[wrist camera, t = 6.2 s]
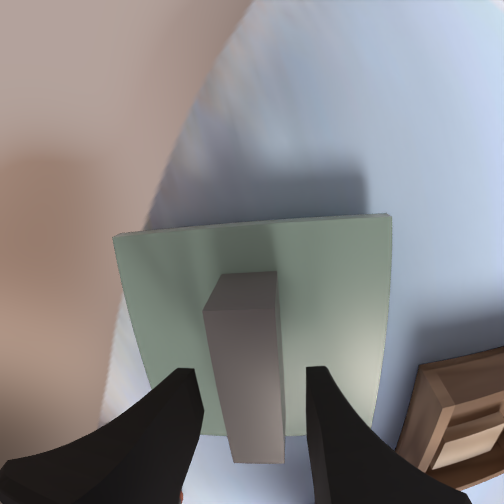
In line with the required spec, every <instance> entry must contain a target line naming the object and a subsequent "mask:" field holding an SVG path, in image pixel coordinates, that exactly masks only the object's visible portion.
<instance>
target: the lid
mask: <svg viewBox="0 0 504 504" xmlns="http://www.w3.org/2000/svg"><path fill="white" fill-rule="evenodd" d="M112 238H113V244H114V249H115V254H116V259H117V264H118V268H119V273H120V278H121V282H122V287H123V291H124V295H125V299H126V303H127V307H128V311H129V315H130V319H131V323H132V326H133V330H134V334H135V337H136V341H137V344H138V348H139V351H140V354H141V358H142V361H143V364H144V367H145V370H146V373H147V377H148V380H149V383H150V386H151V388H152V389H154V388H155V387H156V386H157V385H158V384H159V383H160V382H162V381H163V380H164V379H165V378H166V377H167V376H168V375H169V374H171V373H172V372H173V371H174V370H175V369H176V368H194V369H195V373H196V378H197V382H198V386H199V390H200V394H201V398H202V403H203V406H204V410H205V411H204V417H203V423H202V428H201V433H200V435H216V436H227V437H228V441H229V445H230V449H231V454H232V458H233V462H234V463H255V464H276V463H285V436H302V435H307V434H306V367H311V366H326V367H327V368H328V369H329V372H330V374H331V375H332V377H333V379H334V381H335V383H336V384H337V386H338V387H339V389H340V390H341V392H342V393H343V395H344V396H345V398H346V399H347V400H348V402H349V403H350V405H351V406H352V407H353V409H354V410H355V411H356V412H357V414H358V415H359V416H360V417H361V418H362V420H363V421H364V422H365V423H366V424H367V425H368V426H369V427H370V429H371V425H372V420H373V415H374V410H375V405H376V399H377V394H378V388H379V382H380V375H381V369H382V362H383V355H384V347H385V338H386V329H387V319H388V308H389V296H390V280H391V258H392V216H390V215H388V214H387V213H382V214H361V215H342V216H325V217H308V218H293V219H278V220H264V221H251V222H238V223H225V224H213V225H201V226H190V227H179V228H168V229H158V230H148V231H138V232H128V233H120V234H118V235H116V236H114V237H112Z"/></svg>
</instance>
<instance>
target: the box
mask: <svg viewBox="0 0 504 504" xmlns="http://www.w3.org/2000/svg"><path fill="white" fill-rule="evenodd" d="M395 452H396V453H397V454H399V455H400V456H401V457H403V458H404V459H405V460H407V461H408V462H410V463H411V464H412V465H414V466H415V467H417V468H418V469H419V470H421V471H422V472H424V473H426V474H427V475H429V476H431V477H432V478H434V479H436V480H438V481H439V482H441V483H444V484H446V485H448V486H450V487H452V488H454V489H457V490H459V491H461V490H464V489H467V488H469V487H472V486H475V485H477V484H480V483H482V482H485V481H487V480H489V479H492V478H494V477H496V476H499V475H501V474H503V473H504V346H503V347H499V348H495V349H491V350H488V351H484V352H479V353H475V354H471V355H467V356H462V357H457V358H453V359H448V360H443V361H438V362H432V363H427V364H421V365H419V367H418V372H417V376H416V380H415V384H414V388H413V392H412V396H411V400H410V404H409V407H408V411H407V414H406V418H405V421H404V424H403V428H402V431H401V434H400V437H399V440H398V443H397V446H396V449H395Z"/></svg>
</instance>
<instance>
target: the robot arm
mask: <svg viewBox="0 0 504 504" xmlns="http://www.w3.org/2000/svg"><path fill="white" fill-rule="evenodd" d="M204 411H205V410H204V406H203V403H202V398H201V394H200V390H199V386H198V382H197V378H196V373H195V369H194V368H176V369H175V370H174V371H173V372H172V373H171V374H169V375H168V376H167V377H166V378H165V379H164V380H163V381H162V382H160V383H159V384H158V385H157V386H156V387H155V388H154V389H152V390H151V391H150V392H149V393H148V394H147V395H145V396H144V397H143V398H142V399H141V400H139V401H138V402H137V403H136V404H134V405H133V406H132V407H130V408H129V409H128V410H126V411H125V412H124V413H122V414H121V415H120V416H118V417H117V418H115V419H114V420H112V421H111V422H109V423H108V424H106V425H104V426H103V427H101V428H99V429H97V430H96V431H94V432H92V433H90V434H88V435H86V436H84V437H82V438H80V439H78V440H75V441H74V442H71V443H69V444H67V445H64V446H61V447H59V448H56V449H53V450H50V451H47V452H44V453H40V454H36V455H32V456H28V457H23V458H18V459H12V460H8V461H7V462H6V463H5V464H4V466H3V467H2V468H1V470H0V501H1V503H2V504H178V502H179V497H180V493H181V489H182V486H183V483H184V480H185V477H186V474H187V472H188V469H189V466H190V463H191V460H192V457H193V455H194V452H195V449H196V446H197V443H198V440H199V437H200V433H201V428H202V423H203V417H204ZM306 434H307V443H308V450H309V456H310V463H311V470H312V478H313V485H314V494H315V504H472V503H471V501H470V499H469V498H468V496H467V494H466V493H463V492H461V491H459V490H457V489H454V488H452V487H450V486H448V485H446V484H444V483H441V482H439V481H438V480H436V479H434V478H432V477H431V476H429V475H427V474H426V473H424V472H422V471H421V470H419V469H418V468H417V467H415V466H414V465H412V464H411V463H410V462H408V461H407V460H405V459H404V458H403V457H401V456H400V455H399V454H397V453H396V452H395V451H394V450H393V449H391V448H390V447H389V446H388V445H387V444H386V443H385V442H384V441H382V440H381V439H380V438H379V437H378V436H377V435H376V434H375V433H374V432H373V431H372V430H371V429H370V427H369V426H368V425H367V424H366V423H365V422H364V421H363V420H362V418H361V417H360V416H359V415H358V414H357V412H356V411H355V410H354V409H353V407H352V406H351V405H350V403H349V402H348V400H347V399H346V398H345V396H344V395H343V393H342V392H341V390H340V389H339V387H338V386H337V384H336V383H335V381H334V379H333V377H332V375H331V374H330V372H329V369H328V368H327V367H326V366H311V367H306Z"/></svg>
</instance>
